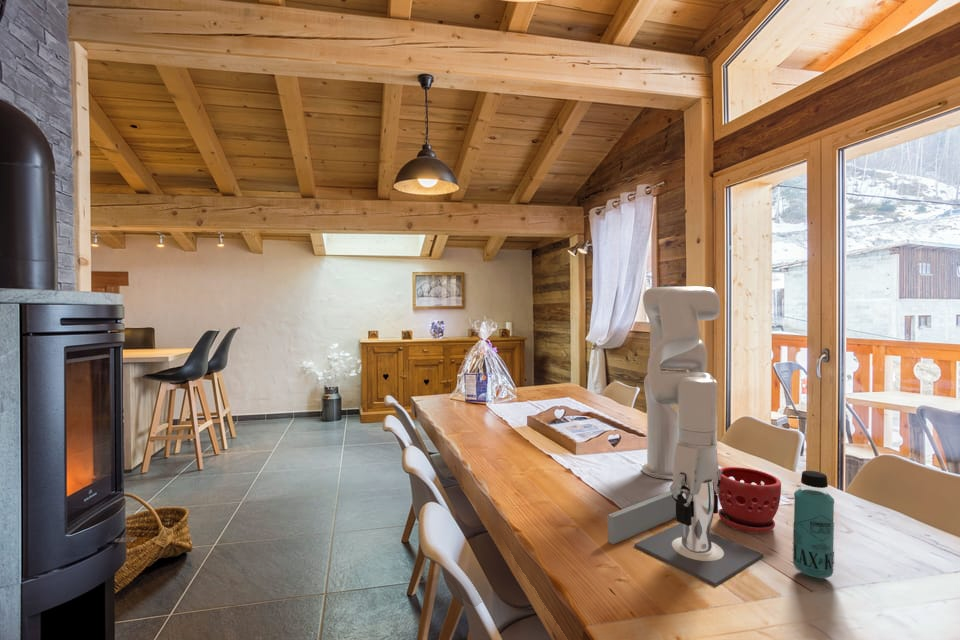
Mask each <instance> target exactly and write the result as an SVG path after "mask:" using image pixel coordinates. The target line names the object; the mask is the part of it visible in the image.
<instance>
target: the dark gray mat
mask: <svg viewBox="0 0 960 640" xmlns="http://www.w3.org/2000/svg"><path fill="white" fill-rule="evenodd" d="M682 534H683V524H682V523H680V522H678V524H675V525H673V526H671V527H668V528H667V529H664V530H662V531H660V532H658V533H655V534H653V535H650V536H649V537H646V538H644V539H642V540H640V541H637V542H635V543H634V547H635V548H637V549H639V550H641V551H643V552H645V553H647V554H649V555H651V556H653V557H655V558H657V559H659V560H661V561H662V562H665V563H667V564H670V565H671V566H674V567H675V568H677V569H679V570H682V571H684V572H686V573H688V574H689V575H691V576H693V577H696V578H697V579H700V580H701V581H703V582H705V583H708V584H709V585H712V586H713V587H717V586H718V585H720V584H721V583H724V582H725V581H727V580H728V579H730V578H731V577H733V576H735V575H736V574H738V573H740V572H741V571H742V570H744V569H746V568H748V567H749V566H750V565H752V564H754V563H755V562H758V561H759V560H761V559H762V558H764V553H763V552H760V551H757V550H755V549H753V548H750V547H747V546H745V545H742V544H740V543H737V542H735V541H733V540H730V539H729V538H728V539H727V538H725V537H722V536H720V535H717V534H715V533H712V532H710V538H711V544H712V553H710V554H708V555H696V554H692V553H689V552H687V551H685V550H684V549H683V548H682V547H681V540H682Z"/></svg>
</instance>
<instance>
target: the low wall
mask: <svg viewBox="0 0 960 640" xmlns="http://www.w3.org/2000/svg"><path fill="white" fill-rule="evenodd" d="M673 519H676V503H675V502H674V499H673V498H672V493H671V490H670V491H667V492H664V493H662V494H659V495H657V496H654V497H651V498H648V499H646V500H644V501H640V502H638V503H635V504H633V505H630V506H628V507H625V508H622V509H620V510H617V511H614V512H612V513H609V514H607V542H608V543H609V544H612V545H615V544H618V543H619V542H622V541H624V540H627V539H629V538H631V537H633V536H636V535H639V534H640V533H643V532H645V531H648V530H649V529H651V528H654V527H656V526H659V525H661V524H664V523H666V522H668V521H671V520H673Z"/></svg>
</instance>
